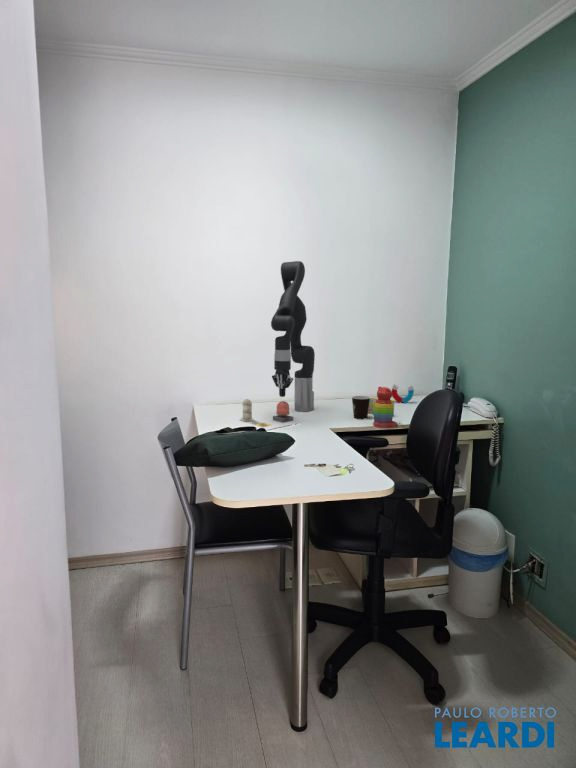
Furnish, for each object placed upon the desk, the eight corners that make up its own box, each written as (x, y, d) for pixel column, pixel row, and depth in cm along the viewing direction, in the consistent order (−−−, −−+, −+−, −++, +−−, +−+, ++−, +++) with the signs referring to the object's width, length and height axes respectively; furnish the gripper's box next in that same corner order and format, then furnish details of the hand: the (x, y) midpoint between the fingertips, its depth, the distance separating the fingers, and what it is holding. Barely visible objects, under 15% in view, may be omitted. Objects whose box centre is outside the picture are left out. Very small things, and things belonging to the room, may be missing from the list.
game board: (269, 415, 275) (269, 410, 274) (300, 423, 259) (300, 417, 258) (226, 423, 258) (226, 418, 257) (256, 432, 241) (256, 426, 241)
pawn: (248, 418, 264) (248, 397, 263) (255, 420, 260) (255, 399, 259) (238, 420, 261) (238, 399, 259) (246, 422, 257) (246, 400, 255)
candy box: (394, 416, 274) (394, 399, 272) (392, 417, 272) (392, 400, 271) (364, 412, 283) (365, 396, 282) (362, 413, 281) (363, 396, 280)
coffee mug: (368, 420, 265) (369, 399, 264) (350, 419, 267) (351, 398, 265) (370, 414, 276) (370, 395, 275) (352, 414, 278) (353, 394, 277)
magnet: (413, 402, 306) (414, 384, 305) (413, 403, 304) (413, 385, 302) (391, 401, 309) (392, 383, 308) (391, 402, 307) (391, 384, 305)
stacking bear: (400, 426, 254) (401, 387, 251) (383, 429, 248) (384, 389, 245) (383, 421, 262) (384, 384, 259) (367, 424, 257) (368, 386, 254)
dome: (283, 412, 264) (283, 399, 263) (292, 414, 260) (292, 401, 259) (273, 413, 260) (273, 401, 259) (282, 415, 256) (282, 403, 255)
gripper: (298, 360, 254) (297, 397, 256) (279, 357, 263) (279, 393, 266) (285, 361, 249) (285, 399, 251) (267, 358, 258) (266, 395, 261)
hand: (282, 396), depth 259 cm, fingers closed
